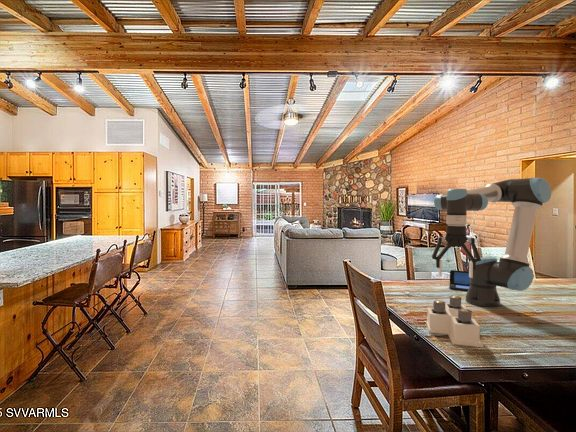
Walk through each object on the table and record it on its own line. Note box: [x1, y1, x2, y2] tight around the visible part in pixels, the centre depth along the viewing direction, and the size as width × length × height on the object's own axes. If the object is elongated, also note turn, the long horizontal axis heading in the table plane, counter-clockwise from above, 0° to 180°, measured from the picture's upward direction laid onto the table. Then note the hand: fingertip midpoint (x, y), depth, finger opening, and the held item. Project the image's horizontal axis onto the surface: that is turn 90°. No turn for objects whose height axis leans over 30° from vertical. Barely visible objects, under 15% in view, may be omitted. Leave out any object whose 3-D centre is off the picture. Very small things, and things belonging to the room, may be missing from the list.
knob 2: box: [458, 308, 473, 324], centre depth 119 cm, size 4×4×6 cm
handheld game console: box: [448, 269, 470, 292], centre depth 188 cm, size 16×13×9 cm
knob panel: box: [425, 302, 484, 348], centre depth 128 cm, size 17×27×7 cm, turn 163°
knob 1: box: [449, 295, 462, 309], centre depth 135 cm, size 4×4×6 cm
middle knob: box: [432, 299, 446, 314], centre depth 129 cm, size 4×4×6 cm
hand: (455, 276), depth 135 cm, fingers open, 11 cm apart
